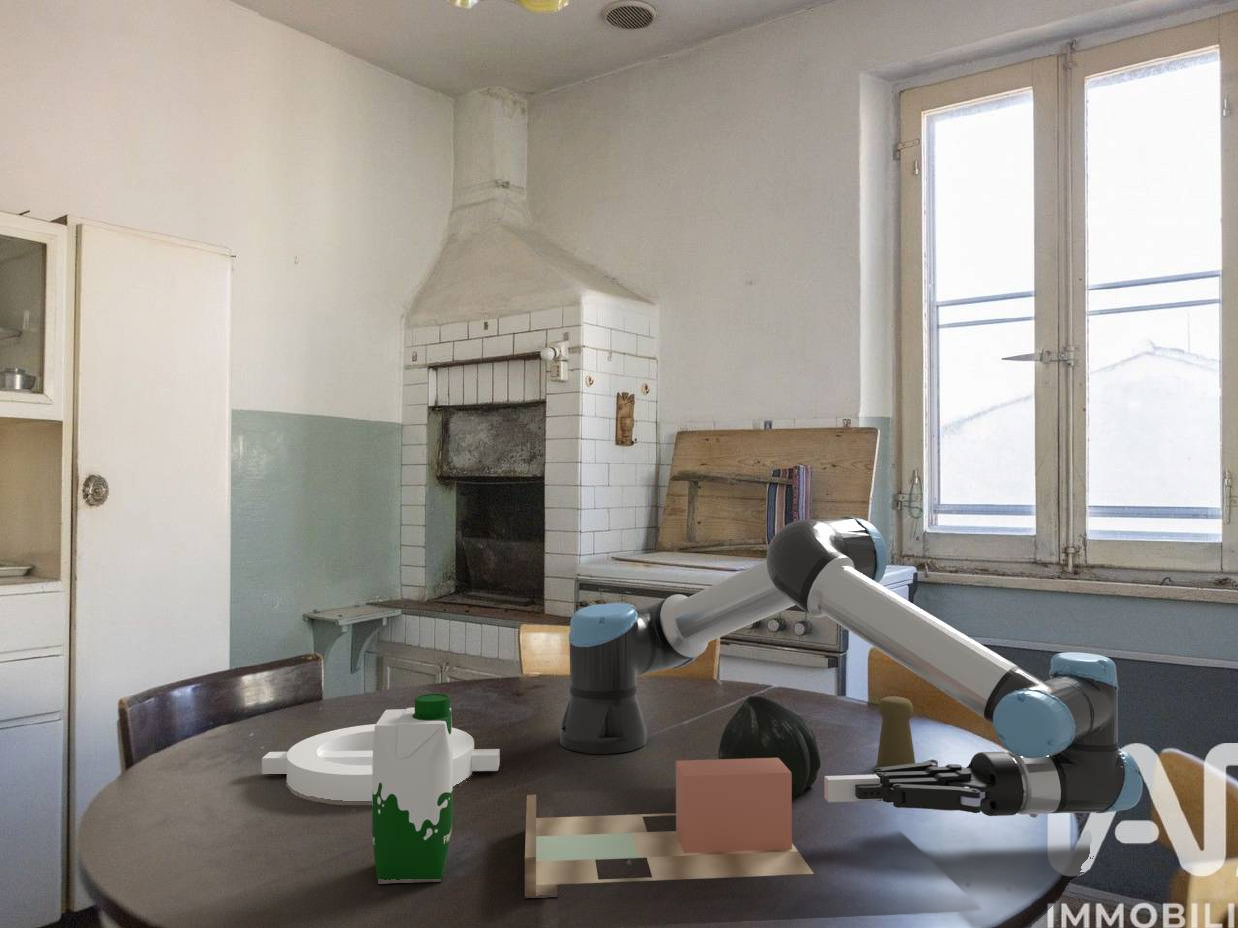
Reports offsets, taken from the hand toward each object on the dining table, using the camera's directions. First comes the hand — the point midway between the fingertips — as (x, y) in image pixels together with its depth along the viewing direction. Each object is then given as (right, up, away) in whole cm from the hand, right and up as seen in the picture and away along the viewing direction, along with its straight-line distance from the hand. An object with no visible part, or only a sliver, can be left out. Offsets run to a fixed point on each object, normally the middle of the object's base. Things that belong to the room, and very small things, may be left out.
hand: (826, 788), depth 112 cm
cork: (+18, -8, +33) cm, 38 cm away
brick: (-12, -6, -1) cm, 13 cm away
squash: (-4, -8, +21) cm, 23 cm away
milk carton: (-49, -8, -6) cm, 50 cm away
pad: (-29, -7, -2) cm, 30 cm away
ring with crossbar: (-62, -9, +30) cm, 69 cm away
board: (-21, -7, -2) cm, 22 cm away
